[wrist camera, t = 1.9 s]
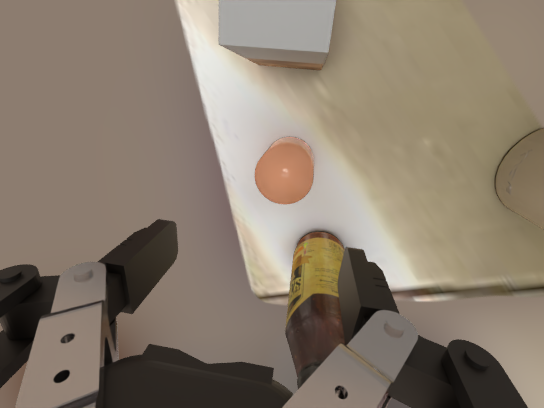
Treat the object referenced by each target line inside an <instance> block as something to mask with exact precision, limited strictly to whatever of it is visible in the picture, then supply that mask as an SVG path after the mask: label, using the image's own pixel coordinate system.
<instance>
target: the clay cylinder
mask: <svg viewBox="0 0 544 408" xmlns="http://www.w3.org/2000/svg"><path fill="white" fill-rule="evenodd" d="M313 168H314V157H313V153H312V151H311V149H310V147H309V146H308V145H307V143H305V142H304V141H303V140H301V139H299V138H296V137H284V138H281V139H279V140H277V141H275V142H274V143H273V144H272V145H271V146H270V148H269V149H268V150H267V151H266V152H265V154H264V155H263V156H262V157H261V159H260V160H259V161H258V163H257V166H256V169H255V181H256V185H257V187H258V189H259V191H260V192H261V193H262V194H263V195H264V196H265V197H266V198H267V199H269V200H270V201H272V202H275V203H278V204H291V203H295V202H297V201H299V200H301V199H302V198H304V197H305V196H306V195H307V193H308V192H309V190H310V189H311V186H312V183H313Z"/></svg>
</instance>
